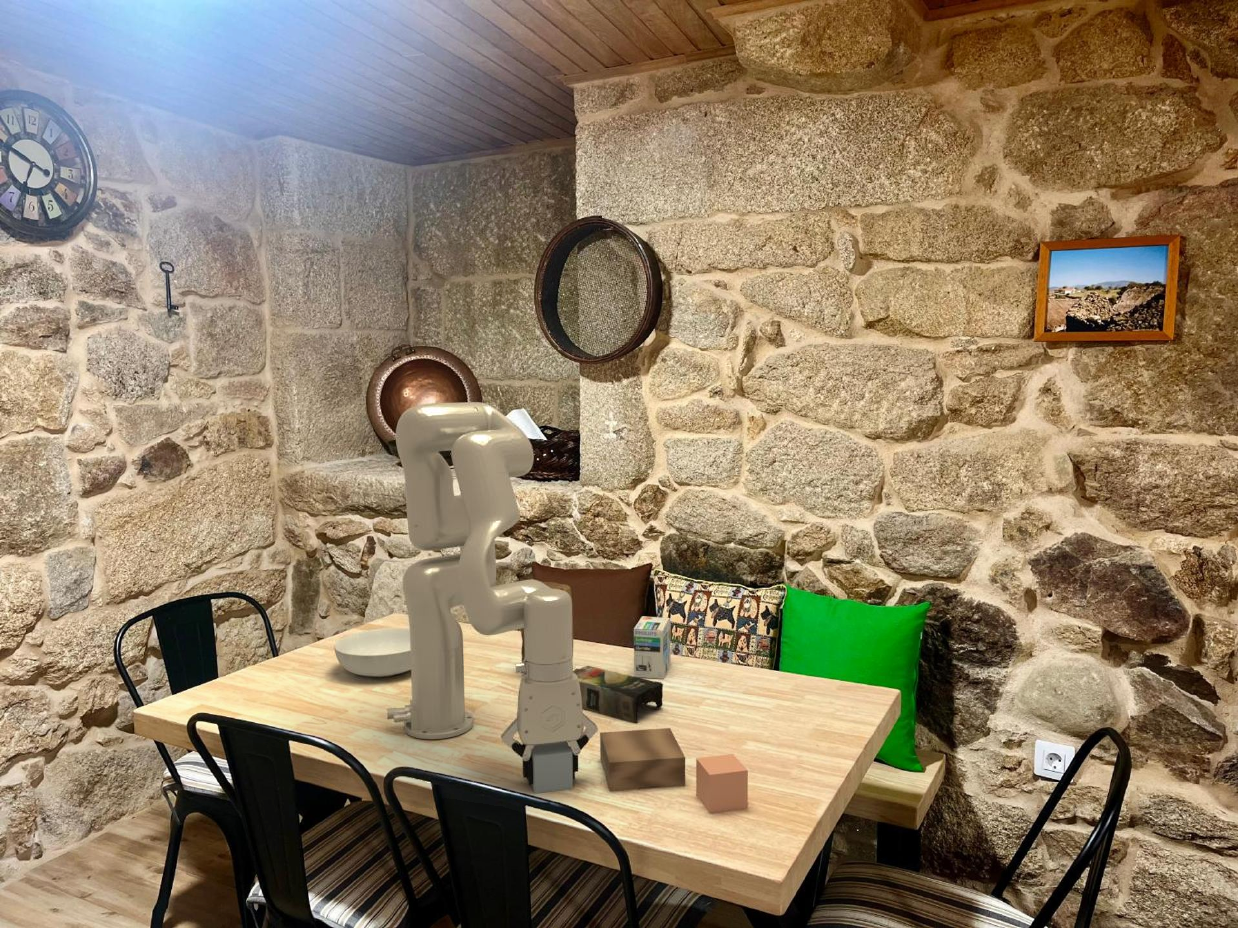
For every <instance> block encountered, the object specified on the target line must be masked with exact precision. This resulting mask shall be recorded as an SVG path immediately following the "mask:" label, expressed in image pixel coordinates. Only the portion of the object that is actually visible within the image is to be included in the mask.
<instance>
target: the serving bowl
mask: <svg viewBox="0 0 1238 928" xmlns="http://www.w3.org/2000/svg"><path fill="white" fill-rule="evenodd" d="M333 649H334V652H335V656H336V660H337V661H338V663H339V664H340V665H341V666H342V667H343V668H344V669H346V670H347V671H348V672H349V673H351V674H352V673H353V674H354V675H358V676H365V677H372V676H373V677H372V678H374V677H375V678H385V677H384V676H386V677H392V676H396V675H400V674H402V673H405V672H409V671H411V651H410V628H409V627H386V628H385V627H383V628H376V629H370V630H369V629H368V630H364V631H360V632H357V633H352V634H350V635H347V636H344V637H343V638H341V639H339V640H338V641H336V643H334V648H333ZM395 674H396V675H395Z"/></svg>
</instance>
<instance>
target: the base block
mask: <svg viewBox="0 0 1238 928" xmlns="http://www.w3.org/2000/svg"><path fill="white" fill-rule="evenodd" d="M599 741H600V742H599V745H600V746H599V747H600V751H599V753H600V755H599V757H600V763H601V766H602V768H603V772H604V773H603V774H604V776H605V779H606V783H607V787H608V791H609V792H622V791H634V790H635V791H637V790H638V791H639V790H649V789H662V788H664V789H666V788H674V787H675V788H676V787H685V786H686V756H685V754H684V752H683V750H682V748H681V747H680V744H679V743H678V741H677V739H676V737H675V735H674V733H673V731H672V729H671V727H664V728H663V727H662V728H651V729H650V728H649V729H635V730H634V729H633V730H618V731H606V732H605V731H603V732H600V733H599Z"/></svg>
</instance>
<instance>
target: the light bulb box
mask: <svg viewBox="0 0 1238 928" xmlns="http://www.w3.org/2000/svg"><path fill="white" fill-rule="evenodd" d="M671 665H672V664H671V618H669V617H658V616H644V615H643V616H641V617H640V619H639V621H638V622H637V623H636V625H635V626H634V628H633V668H634V669H633V676H634V677H638V678H643V679H645V678H646V679H647V678H648V679H660V680H663V679H665V676H666V675H667V672H668V671H669V669H670V666H671Z"/></svg>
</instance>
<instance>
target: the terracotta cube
mask: <svg viewBox="0 0 1238 928" xmlns="http://www.w3.org/2000/svg"><path fill="white" fill-rule="evenodd" d="M695 760H696V761H695V762H696V763H695V764H696V765H695V768H696V769H695V771H696V772H695V779H696V780H695V785H696V786H695V790H696V791H695V793H696V794H695V796H696V797H697V798H698V800H699V801H700V802H701V804H702V805H703V807H704V808H705V810H706V811H707V812H708V813H709V814H717V813H723V812H731V811H737V810H738V811H739V810H746V809H748V802H749V801H748V799H749V798H748V796H749V794H748V791H749V790H748V788H749V786H748V783H749V778H748V776H749V771H748V769H747V768H746V766H745V765H744V764H743V763H742V762H741V761H740V760H739V758H737V756H736V755H734V753H729V754H721V755H714V756H711V755H710V756H704V757H696V759H695Z"/></svg>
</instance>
